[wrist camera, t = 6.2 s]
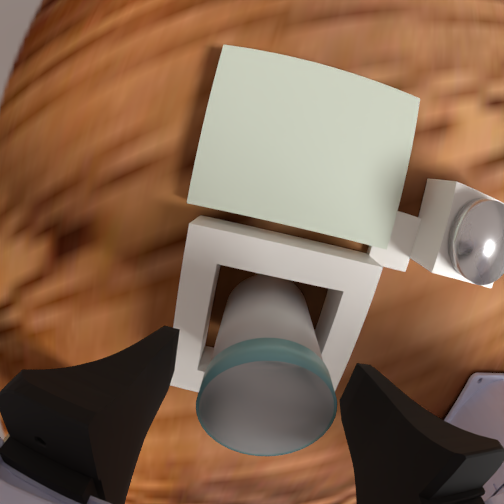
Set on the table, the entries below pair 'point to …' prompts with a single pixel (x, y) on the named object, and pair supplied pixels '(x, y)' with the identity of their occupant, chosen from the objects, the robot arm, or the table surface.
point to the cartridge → (266, 373)
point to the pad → (304, 146)
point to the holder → (309, 274)
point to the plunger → (478, 241)
